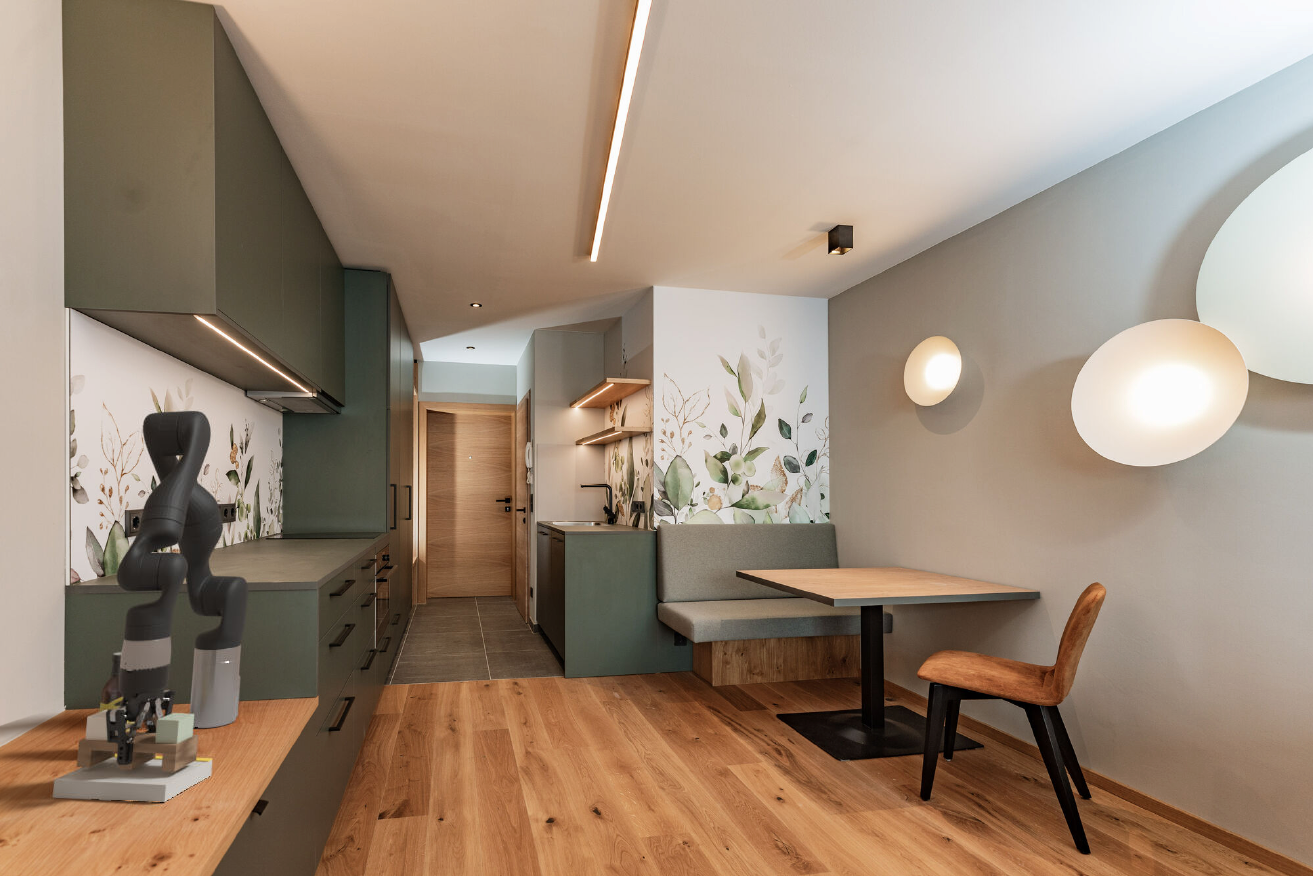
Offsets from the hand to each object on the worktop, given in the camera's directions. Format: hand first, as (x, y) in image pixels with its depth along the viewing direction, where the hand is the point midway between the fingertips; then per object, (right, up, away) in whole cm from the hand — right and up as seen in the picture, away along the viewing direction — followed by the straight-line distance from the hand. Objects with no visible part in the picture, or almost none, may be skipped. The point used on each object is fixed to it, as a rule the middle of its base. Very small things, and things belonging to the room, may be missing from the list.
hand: (137, 757), depth 129 cm
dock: (0, -5, -1) cm, 5 cm away
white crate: (-6, +4, +1) cm, 7 cm away
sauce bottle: (-15, -6, +15) cm, 22 cm away
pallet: (0, -1, 0) cm, 1 cm away
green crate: (+7, +3, 0) cm, 7 cm away
